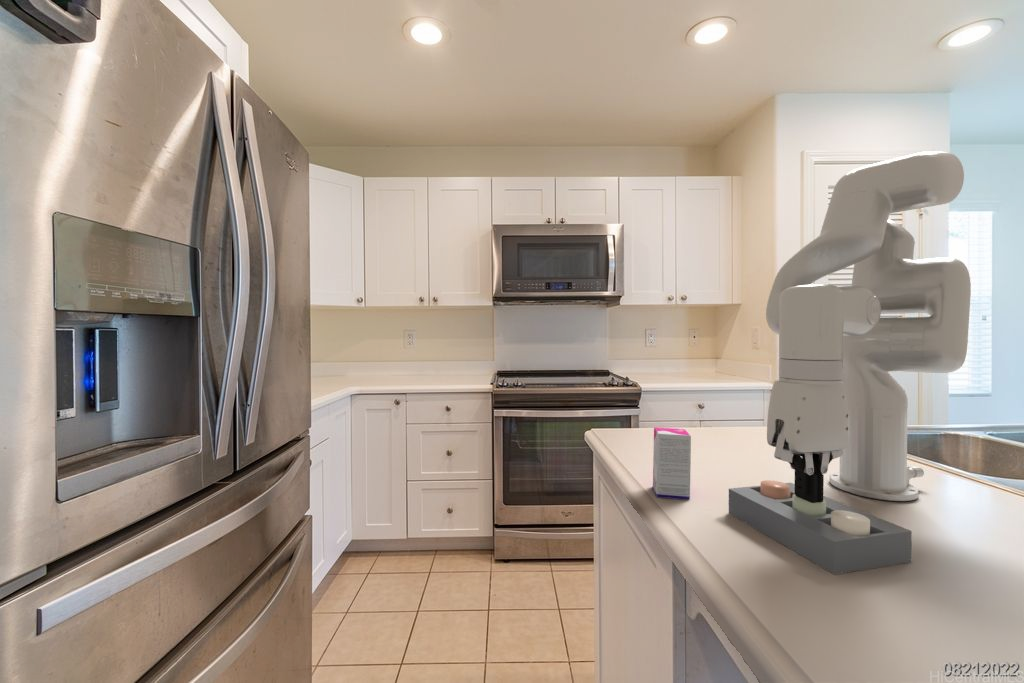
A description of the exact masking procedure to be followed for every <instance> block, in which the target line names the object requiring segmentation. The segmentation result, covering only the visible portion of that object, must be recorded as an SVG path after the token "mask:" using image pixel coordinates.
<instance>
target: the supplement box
mask: <svg viewBox="0 0 1024 683" xmlns="http://www.w3.org/2000/svg"><path fill="white" fill-rule="evenodd" d="M691 448H692V436H691V434H690V433H689V432H688V431H687V430H686V429H684V428H672V427H671V428H670V427H669V428H668V427H654V428H653V456H652V457H653V459H652V460H653V463H652V464H653V465H652V489H653V492H654V495H655V496H656V498H660V499H672V500H673V499H674V500H691V499H690V498H691V463H692V462H691V459H692V456H691V454H692V451H691V450H692V449H691Z"/></svg>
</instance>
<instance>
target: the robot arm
mask: <svg viewBox="0 0 1024 683" xmlns="http://www.w3.org/2000/svg"><path fill="white" fill-rule="evenodd" d="M964 172H965V171H964V166H963V164H962V162H961V160H960V159H959V157H958V156H957V155H956V154H954V153H952V152H946V151H934V150H933V151H922V152H917V153H913V154H908V155H905V156H900V157H896V158H893V159H889V160H884V161H880V162H877V163H873V164H872V163H871V164H868V165H865V166H862V167H859V168H855V169H853V170H851V171H849V172H847V173H846V174H844V175H843V176H841V178H839V179H838V180H837V182H836V184H835V186H834V188H833V191H832V193H831V197H830V199H829V204H828V206H827V210H826V213H825V216H824V220H823V224H822V226H821V229H820V234H819V236H817V237H816V238H814V239H813V240H812V241H809V242H808V243H807V244H805V246H803V247H802V248H801V249H800V250H798V251H797V252H796V253H795V254H794V255H792V256H791V258H789V259H788V260H787V261H786V262H785V263H784V264H783V265H782V266H781V267H780V269H779V270H778V272H777V274H776V276H775V278H774V280H773V284H772V286H771V289H770V292H769V295H768V300H767V304H766V308H765V319H766V322H767V325H768V328H769V329H770V330H771V331H772V332H773V333H774V334H777V335H778V380H774V382H773V384H772V389H771V391H770V392H771V393H770V397H769V403H768V412H767V420H766V421H767V424H766V425H767V426H766V443H767V444H768V445H769V446H770V447H773V448H775V449H774V450H775V451H774V455H773V456H774V458H775V459H777V460H780V461H783V462H787V463H788V464H789V465H790V468H791V469H792V470H794V484H795V495H796V496H797V497H799V498H802V499H804V500H806V501H809V502H811V503H816V502H823V496H824V479H825V478H824V475H825V474H827V473H828V470H829V465H830V463H831V462H832V460H834V459H839V471H837V472H833V473H831V474H829V483H830V484H831V485H832V486H834V487H835V488H837V489H839V490H841V491H844V492H847V493H851V494H854V495H857V496H860V497H866V498H870V499H875V500H883V501H891V502H909V501H915V500H917V499H918V498H920V495H919V493H920V492H919V489H918V488H917V487H915V486H914V485H912V484H910V481H911V479H912V478H913V479H915V478H922V477H923V476H924V475H925V472H924V469H922V467H920V466H910V465H909V466H908V462H907V461H908V406H909V404H908V403H909V402H908V396H907V393H906V391H905V390H904V388H903V386H901V385H900V383H899V382H898V381H897V380H896V379H895V378H894V377H893V376H892V375H891V374H890V372H904V373H906V372H908V373H925V374H928V373H931V374H948V373H953V372H956V371H958V370H959V369H961V368H962V366H963V365H964V363H965V361H966V357H967V353H968V343H969V342H968V341H969V327H970V326H969V324H970V312H971V311H970V310H971V294H972V292H971V291H972V290H971V288H972V287H971V285H972V284H971V277H970V272H969V270H968V267H967V266H966V264H965V263H964V262H963V261H961V260H960V259H957V258H955V257H933V258H932V257H931V258H922V259H914V255H915V254H914V252H915V251H914V250H915V243H916V242H915V238H914V236H913V234H912V233H911V232H910V231H909V230H907V229H906V227H903V226H902V225H901V224H899V223H897V222H895V221H894V220H892V219H890V218H889V217H890V214H893V213H895V214H896V213H902V212H907V211H912V210H913V211H914V210H918V209H923V208H924V209H925V208H928V207H929V208H930V207H934V206H941V205H946V204H950V203H951V202H953V201H954V200H955V199H957V197H958V196H959V194H961V193H960V192H962V191H961V190H962V189H963V186H964V180H965V173H964ZM852 265H853V271H852V280H851V285H845V286H836V285H833V284H825V283H824V284H820V283H818V284H816V283H815V284H813V283H814V282H816V281H818V280H819V279H821V278H824V277H827V276H829V275H831V274H833V273H836V272H838V271H841V270H844V269H846V268H848V267H850V266H852ZM896 314H897V315H898V314H899V315H900V314H901V315H903V314H928V315H929V316H915V317H911V316H908V317H896V316H894V317H893V316H892V317H881V316H882V315H896Z"/></svg>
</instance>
